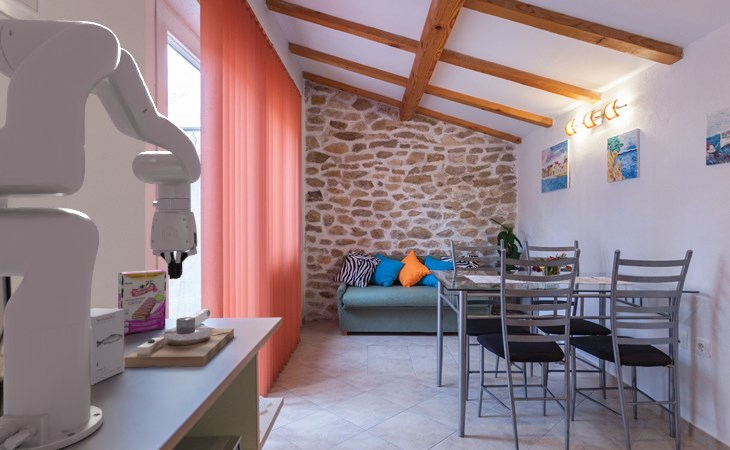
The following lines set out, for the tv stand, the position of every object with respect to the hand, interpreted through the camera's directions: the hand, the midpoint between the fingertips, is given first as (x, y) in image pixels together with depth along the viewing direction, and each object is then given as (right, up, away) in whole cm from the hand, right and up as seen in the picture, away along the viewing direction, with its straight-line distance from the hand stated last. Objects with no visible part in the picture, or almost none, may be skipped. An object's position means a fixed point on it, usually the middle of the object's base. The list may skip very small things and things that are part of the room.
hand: (175, 278), depth 101 cm
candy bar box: (-13, -16, +9) cm, 23 cm away
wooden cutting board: (+6, -16, -8) cm, 19 cm away
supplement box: (-4, -16, -25) cm, 30 cm away
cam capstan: (+6, -13, -3) cm, 15 cm away
